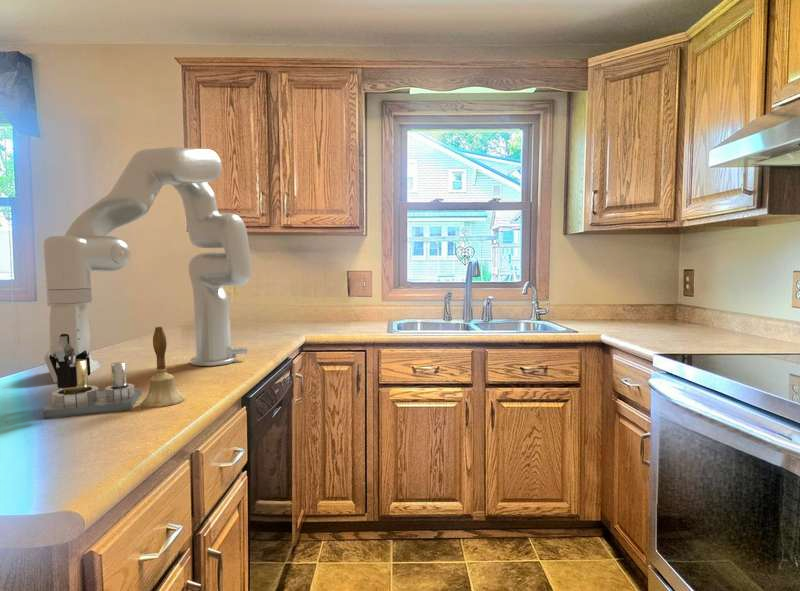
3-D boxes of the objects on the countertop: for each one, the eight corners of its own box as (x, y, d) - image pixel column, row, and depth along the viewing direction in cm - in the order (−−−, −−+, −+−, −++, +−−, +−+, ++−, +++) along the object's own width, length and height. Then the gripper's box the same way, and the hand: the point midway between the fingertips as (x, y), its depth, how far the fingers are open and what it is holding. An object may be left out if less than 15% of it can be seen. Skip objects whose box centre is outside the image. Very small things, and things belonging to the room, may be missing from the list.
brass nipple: (91, 395, 105) (89, 358, 104) (85, 401, 101) (83, 362, 100) (67, 397, 104) (64, 359, 103) (60, 403, 100) (57, 364, 99)
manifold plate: (141, 394, 112) (139, 356, 111) (131, 409, 100) (129, 368, 100) (62, 401, 107) (60, 361, 106) (43, 418, 95) (40, 374, 95)
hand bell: (141, 409, 100) (137, 331, 99) (141, 399, 108) (137, 325, 106) (186, 403, 104) (183, 327, 103) (183, 394, 112) (180, 323, 110)
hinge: (76, 381, 123) (58, 344, 122) (56, 389, 123) (38, 351, 121) (100, 367, 140) (85, 334, 138) (83, 373, 139) (67, 340, 137)
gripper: (61, 295, 107) (66, 373, 109) (31, 302, 91) (38, 394, 93) (101, 294, 110) (105, 370, 111) (79, 300, 94) (84, 390, 95)
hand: (75, 381), depth 102 cm, fingers open, 9 cm apart
